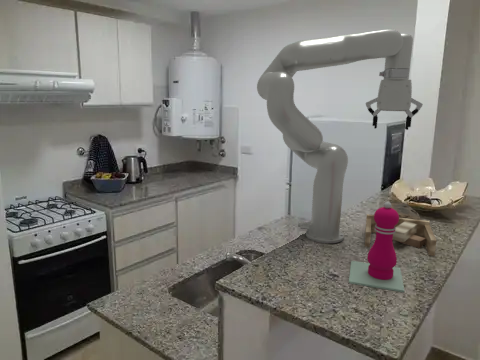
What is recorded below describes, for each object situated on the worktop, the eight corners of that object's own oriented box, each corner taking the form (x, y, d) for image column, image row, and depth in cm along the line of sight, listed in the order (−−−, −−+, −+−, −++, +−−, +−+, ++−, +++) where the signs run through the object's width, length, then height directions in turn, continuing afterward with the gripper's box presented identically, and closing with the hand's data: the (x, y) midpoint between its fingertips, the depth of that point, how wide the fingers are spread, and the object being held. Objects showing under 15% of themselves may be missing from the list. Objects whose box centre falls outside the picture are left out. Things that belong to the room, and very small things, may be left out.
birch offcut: (404, 229, 126) (405, 221, 125) (416, 232, 123) (417, 224, 123) (390, 239, 118) (391, 230, 117) (403, 242, 115) (404, 233, 114)
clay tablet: (381, 208, 160) (380, 221, 142) (382, 197, 159) (382, 209, 141) (417, 213, 155) (420, 227, 137) (418, 202, 154) (422, 215, 136)
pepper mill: (360, 274, 98) (367, 201, 93) (373, 265, 103) (380, 196, 98) (387, 283, 93) (396, 207, 88) (399, 274, 98) (408, 202, 93)
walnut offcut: (383, 238, 126) (384, 230, 125) (389, 236, 128) (390, 228, 127) (419, 250, 117) (420, 241, 116) (424, 247, 119) (425, 238, 118)
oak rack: (364, 246, 117) (366, 228, 116) (365, 230, 132) (366, 214, 131) (434, 256, 111) (437, 237, 110) (426, 237, 126) (429, 220, 124)
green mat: (348, 283, 94) (348, 281, 94) (351, 262, 106) (351, 260, 106) (404, 292, 90) (404, 290, 90) (400, 269, 102) (400, 267, 102)
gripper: (367, 74, 118) (363, 128, 122) (427, 74, 113) (420, 130, 116) (368, 76, 125) (363, 127, 129) (424, 76, 119) (418, 129, 123)
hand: (390, 128), depth 122 cm, fingers open, 9 cm apart
